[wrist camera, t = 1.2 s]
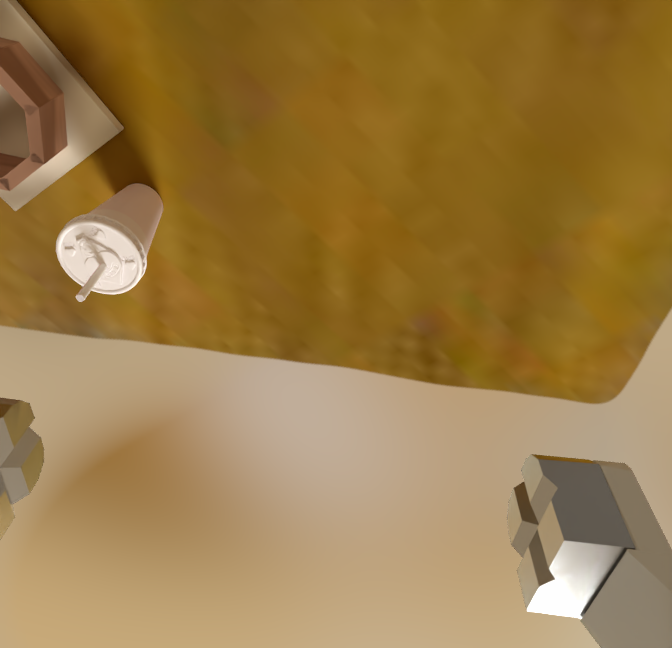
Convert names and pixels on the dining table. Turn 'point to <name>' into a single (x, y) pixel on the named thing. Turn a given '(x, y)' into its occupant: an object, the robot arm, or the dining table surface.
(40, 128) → the bottle stand
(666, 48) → the dining table surface
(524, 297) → the dining table surface
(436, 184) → the dining table surface
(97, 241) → the smoothie
